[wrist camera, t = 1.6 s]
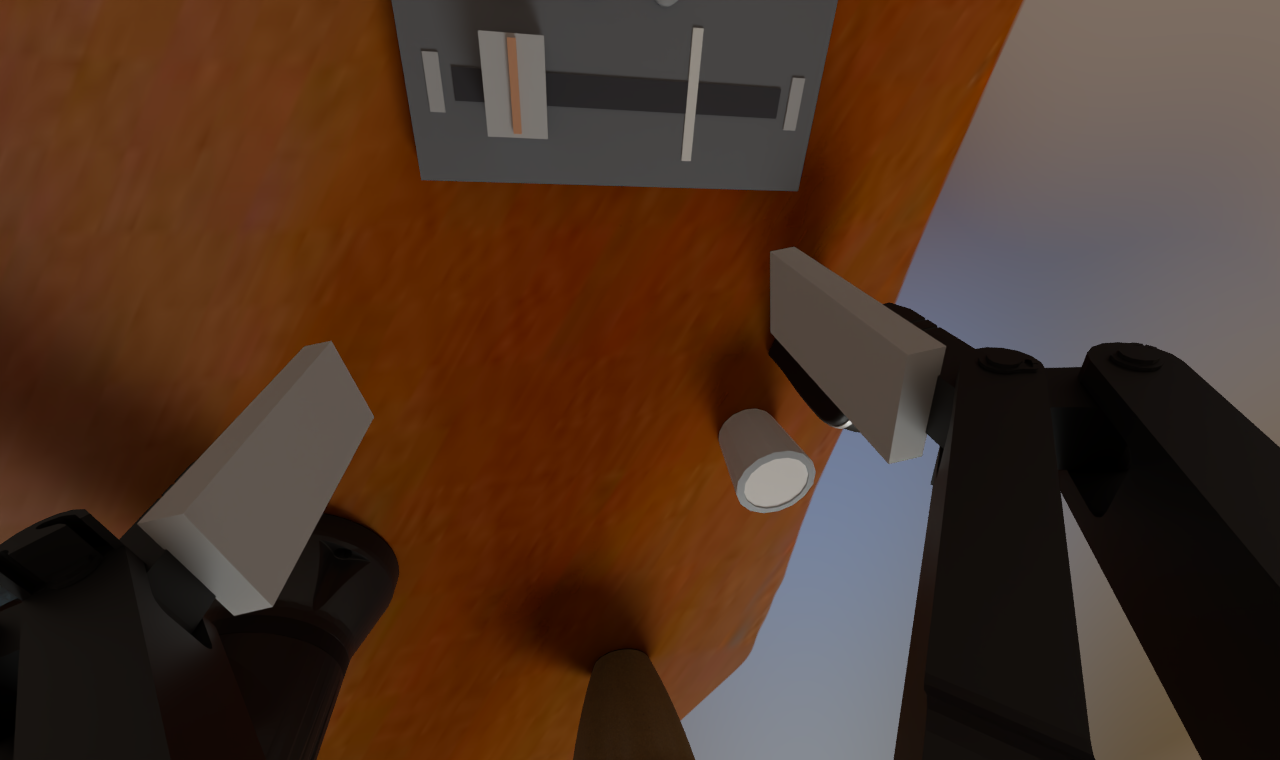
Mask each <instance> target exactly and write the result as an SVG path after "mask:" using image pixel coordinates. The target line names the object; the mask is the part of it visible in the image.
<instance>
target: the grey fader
mask: <svg viewBox="0 0 1280 760" xmlns="http://www.w3.org/2000/svg"><path fill="white" fill-rule="evenodd" d="M478 38H479V48H480V59H481V69H482V79H483V90H484V100H485V110H486V121H487V131H488V137H510V138H532V139H548V122H547V97H546V72H545V46H544V36H543V35H531V34H519V33H506V32H494V31H481V30H478Z"/></svg>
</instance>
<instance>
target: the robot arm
mask: <svg viewBox="0 0 1280 760" xmlns="http://www.w3.org/2000/svg"><path fill="white" fill-rule="evenodd" d="M770 332H771V333H772V335H773V336H774V337H775V338H776V339H777V340H778V341H779V342H780V343H781V345H782V346H783V347H784V348H785V349H786V350H787V351H788V352H789V353H790V355H791V356H792V357H793V358H794V359H795V360H796V361H797V362H798V364H799V365H800V366H801V367H802V368H803V369H804V370H805V371H806V372H807V374H808V375H809V376H810V377H811V378H812V379H813V380H814V381H815V382H816V384H817V385H818V386H819V387H820V388H821V389H822V390H823V391H824V392H825V394H826V395H827V396H828V397H829V398H830V399H831V400H832V401H833V403H834V404H835V405H836V406H837V407H838V408H839V409H840V410H841V411H842V413H843V414H844V415H845V416H846V417H847V418H848V419H849V420H850V421H851V423H852V424H853V425H854V426H855V427H856V428H857V429H858V430H859V431H860V433H861V434H862V435H863V436H864V437H865V438H866V439H867V440H868V442H870V444H871V445H872V446H873V447H874V448H875V449H876V450H877V452H878V453H879V454H880V455H881V456H882V457H883V458H884V459H885V460H886V462H887V463H888V464H890V463H895V462H899V461H904V460H908V459H912V458H917V457H921V456H922V454H923V450H924V445H925V440H926V436H927V434H928V435H929V436H930V437H931V438H932V439H933V440H934V441H935V442H936V443H938V444H939V445H940V448H939V452H938V456H937V460H936V464H935V469H934V472H933V476H932V481H931V485H933V489H932V496H931V503H930V510H929V517H928V524H927V531H926V538H925V545H924V552H923V559H922V566H921V573H920V579H919V587H918V593H917V600H916V608H915V615H914V621H913V628H912V635H911V642H910V649H909V656H908V664H907V670H906V677H905V684H904V691H903V698H902V706H901V712H900V719H899V726H898V733H897V740H896V747H895V754H894V760H1095V758H1094V755H1093V751H1092V746H1091V741H1090V732H1089V725H1088V716H1087V709H1086V699H1085V692H1084V683H1083V675H1082V666H1081V658H1080V650H1079V642H1078V633H1077V625H1076V616H1075V608H1074V600H1073V592H1072V583H1071V575H1070V568H1069V558H1068V550H1067V542H1066V533H1065V525H1064V517H1063V509H1062V501H1061V493H1062V494H1063V497H1064V499H1065V501H1066V502H1067V504H1068V506H1069V508H1070V510H1071V512H1072V514H1073V516H1074V518H1075V519H1076V521H1077V523H1078V525H1079V527H1080V529H1081V531H1082V533H1083V535H1084V537H1085V538H1086V540H1087V542H1088V544H1089V546H1090V548H1091V550H1092V552H1093V554H1094V555H1095V558H1096V559H1097V561H1098V563H1099V565H1100V567H1101V569H1102V571H1103V573H1104V575H1105V577H1106V578H1107V580H1108V582H1109V584H1110V586H1111V588H1112V590H1113V592H1114V594H1115V596H1116V598H1117V599H1118V601H1119V603H1120V605H1121V607H1122V609H1123V611H1124V613H1125V615H1126V616H1127V618H1128V620H1129V622H1130V624H1131V626H1132V628H1133V630H1134V632H1135V633H1136V636H1137V637H1138V639H1139V641H1140V643H1141V645H1142V647H1143V649H1144V651H1145V653H1146V655H1147V656H1148V658H1149V660H1150V662H1151V664H1152V666H1153V668H1154V670H1155V672H1156V674H1157V675H1158V677H1159V679H1160V681H1161V683H1162V685H1163V687H1164V689H1165V690H1166V692H1167V694H1168V696H1169V698H1170V700H1171V702H1172V704H1173V706H1174V708H1175V710H1176V712H1177V713H1178V715H1179V717H1180V719H1181V721H1182V723H1183V725H1184V727H1185V728H1186V730H1187V732H1188V734H1189V736H1190V738H1191V740H1192V742H1193V744H1194V746H1195V748H1196V750H1197V751H1198V753H1199V755H1200V757H1201V759H1202V760H1280V447H1279V446H1277V445H1276V444H1275V443H1274V442H1273V441H1272V440H1271V439H1270V438H1269V437H1267V436H1266V435H1265V434H1264V433H1263V432H1262V431H1261V430H1260V429H1259V428H1257V427H1256V426H1255V425H1254V424H1253V423H1252V422H1251V421H1250V420H1249V419H1247V418H1246V417H1245V416H1244V415H1243V414H1242V413H1241V412H1240V411H1238V410H1237V409H1236V408H1235V407H1234V406H1233V405H1232V404H1230V402H1228V401H1227V400H1226V399H1225V398H1224V397H1223V396H1222V395H1221V394H1219V393H1218V392H1217V391H1216V390H1215V389H1214V388H1213V387H1212V386H1210V385H1209V384H1208V383H1207V382H1206V381H1205V380H1204V379H1203V378H1202V377H1200V376H1199V375H1198V374H1197V373H1196V372H1195V371H1194V370H1193V369H1192V368H1190V367H1189V366H1188V365H1187V364H1186V363H1185V362H1184V361H1182V360H1181V359H1179V358H1177V357H1176V356H1174V355H1173V354H1170V353H1168V352H1165V351H1162V350H1159V349H1157V348H1156V347H1153V346H1149V345H1145V346H1144V345H1143V344H1139V343H1120V342H1117V343H1102V344H1100V345H1097V346H1093V347H1092V348H1091V349H1090V350H1089V351H1088V352H1087V355H1086V357H1085V360H1084V362H1083V365H1082V367H1071V368H1070V367H1069V368H1044V366H1043V364H1042V363H1041V362H1040V361H1038V360H1037V359H1035V358H1034V357H1032V356H1030V355H1027V354H1025V353H1022V352H1019V351H1015V350H1010V349H1005V348H989V347H986V348H980V349H974V348H973V347H971V346H970V345H968V344H966V343H965V342H963V341H961V340H960V339H958V338H957V337H955V336H953V335H952V334H950V333H948V332H947V331H945V330H944V329H942V328H937V325H936V324H934V323H932V322H931V321H929V320H925V318H924V317H922V316H921V315H919V314H918V313H916V312H914V311H913V310H911V309H908V308H906V307H902V306H899V305H896V304H893V303H886V304H881V303H880V302H878V301H876V300H875V299H873V298H872V297H870V296H869V295H867V294H866V293H864V292H863V291H861V290H860V289H858V288H857V287H855V286H854V285H852V284H851V283H849V282H847V281H846V280H844V279H843V278H841V277H840V276H838V275H837V274H835V273H834V272H832V271H831V270H829V269H828V268H826V267H825V266H823V265H822V264H820V263H818V262H817V261H815V260H814V259H812V258H811V257H809V256H808V255H806V254H805V253H803V252H802V251H800V250H799V249H797V248H796V247H790V248H785V249H780V250H775V251H771V252H770ZM373 418H374V416H373V414H372V412H371V410H370V409H369V407H368V405H367V403H366V401H365V400H364V398H363V396H362V394H361V393H360V391H359V389H358V387H357V386H356V384H355V382H354V380H353V378H352V377H351V375H350V373H349V371H348V370H347V368H346V366H345V364H344V362H343V361H342V359H341V357H340V355H339V354H338V352H337V350H336V348H335V346H334V345H333V343H332V341H329V342H324V343H319V344H314V345H309V346H304V347H303V348H302V350H301V351H300V352H299V353H298V354H297V355H296V356H295V357H294V358H293V359H292V360H291V361H290V362H289V363H288V364H287V365H286V366H285V368H284V369H283V370H282V371H281V372H280V373H279V374H278V375H277V376H276V377H275V378H274V379H273V380H272V381H271V382H270V383H269V384H268V386H267V387H266V388H265V389H264V390H263V391H262V392H261V393H260V394H259V395H258V396H257V397H256V398H255V399H254V400H253V401H252V402H251V404H250V405H249V406H248V407H247V408H246V409H245V410H244V411H243V412H242V413H241V414H240V415H239V416H238V417H237V418H236V419H235V420H234V422H233V423H232V424H231V425H230V426H229V427H228V428H227V429H226V430H225V431H224V432H223V433H222V434H221V435H220V436H219V437H218V438H217V440H216V441H215V442H214V443H213V444H212V445H211V446H210V447H209V448H208V449H207V450H206V451H205V452H204V453H203V454H202V455H201V456H200V457H199V459H198V460H196V461H195V462H193V463H192V464H191V465H190V466H189V467H188V468H187V469H186V470H185V471H184V472H183V473H182V474H181V475H180V476H179V477H178V478H177V479H176V481H175V484H172V485H171V486H170V487H169V488H168V489H167V490H166V491H165V492H164V493H163V494H162V498H159V499H157V501H156V502H155V503H154V504H153V505H152V506H151V507H150V508H149V509H148V510H147V511H146V512H145V513H144V514H143V515H142V516H141V517H140V518H139V519H138V521H137V522H136V523H135V524H134V525H133V526H132V527H131V528H130V529H129V530H128V531H127V532H126V533H125V534H124V535H123V536H122V537H121V538H120V539H117V538H116V537H115V536H114V535H113V534H112V533H111V532H110V531H109V530H107V529H106V528H105V527H104V526H103V525H102V524H101V523H100V522H99V521H97V520H96V519H95V518H94V517H93V516H92V515H91V514H90V513H88V512H87V511H86V510H85V509H80V510H70V511H67V512H63V513H59V514H56V515H54V516H51V517H49V518H47V519H44V520H42V521H39V522H37V523H35V524H33V525H32V526H30V527H28V528H26V529H24V530H22V531H21V532H19V533H17V534H15V535H14V536H12V537H11V538H9V539H8V540H6V541H5V542H4V543H2V544H1V545H0V760H316V759H317V756H318V753H319V750H320V747H321V744H322V741H323V738H324V735H325V732H326V730H327V727H328V724H329V721H330V718H331V715H332V712H333V709H334V706H335V703H336V700H337V697H338V694H339V691H340V688H341V685H342V682H343V679H344V676H345V673H346V670H347V667H348V665H349V662H350V660H351V658H352V656H353V655H354V653H355V652H356V651H357V649H358V648H359V647H360V645H361V644H362V642H363V641H364V640H365V638H366V637H367V635H368V634H369V633H370V631H371V630H372V629H373V627H374V626H375V624H376V623H377V621H378V620H379V619H380V617H381V616H382V614H383V613H384V612H385V610H386V609H387V607H388V606H389V604H390V602H391V599H392V597H393V594H394V590H395V587H396V584H397V581H398V577H399V566H398V562H397V559H396V557H395V555H394V553H393V551H392V550H391V548H390V547H389V546H388V545H387V544H386V543H385V542H384V541H383V540H382V539H381V538H380V537H379V536H377V535H376V534H375V533H373V532H372V531H370V530H368V529H367V528H365V527H363V526H361V525H359V524H357V523H354V522H352V521H349V520H346V519H343V518H340V517H336V516H332V515H327V514H323V512H324V510H325V508H326V506H327V504H328V502H329V500H330V499H331V497H332V495H333V493H334V491H335V489H336V487H337V485H338V484H339V482H340V480H341V478H342V476H343V474H344V472H345V470H346V468H347V467H348V465H349V463H350V461H351V459H352V457H353V455H354V453H355V452H356V450H357V448H358V446H359V444H360V442H361V440H362V438H363V437H364V435H365V433H366V431H367V429H368V427H369V425H370V423H371V422H372V420H373ZM1060 491H1061V492H1060Z"/></svg>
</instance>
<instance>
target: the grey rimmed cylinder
mask: <svg viewBox="0 0 1280 760" xmlns="http://www.w3.org/2000/svg"><path fill="white" fill-rule="evenodd" d="M719 444H720V447H721V450H722V453H723V456H724V459H725V462H726V465H727V468H728V471H729V474H730V477H731V480H732V483H733V486H734V489H735V492H736V495H737V497H738V499H739V501H740V503H741V505H743V506H744V507H746V508H747V509H749V510H750V511H755V512H760V513H767V512H775V511H779V510H782V509H784V508H786V507H789V506H791V505H793V504H794V503H796V502H797V501H798V500H800V499H801V498H802V497H803V496H805V494H806V493H807V492H808V490H809V489H810V487H811V486H812V485H813V481H814V477H815V473H816V472H815V468H814V465H813V462H812V460H811V459H810V458H809V457H808V456H807V455H806V454H805V453H804V451H803V450H802V449H801V448H800V447H799V446H798V445H797V444H796V443H795V441H794V440H793V439H792V438H791V437H790V436H789V435H788V434H787V432H786V431H785V430H784V429H783V428H782V427H781V426H780V425H779V424H778V422H777V421H776V420H775V419H774V418H773V417H772V416H771V415H770V414H769V413H767V412H766V411H764V410H760V409H746V410H743V411H740V412H738V413H736V414H734V415H732V416H731V417H730V418H729V419H728V420H727V421H726V422H725V423H724V424H723V426H722V428H721V430H720V431H719Z"/></svg>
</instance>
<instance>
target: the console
mask: <svg viewBox="0 0 1280 760" xmlns="http://www.w3.org/2000/svg"><path fill="white" fill-rule="evenodd" d="M837 2H838V0H392V6H393V12H394V18H395V24H396V30H397V36H398V42H399V48H400V54H401V60H402V66H403V72H404V78H405V84H406V90H407V96H408V102H409V108H410V114H411V120H412V126H413V132H414V138H415V144H416V150H417V156H418V162H419V168H420V174H421V180H439V181H473V182H506V183H540V184H573V185H607V186H640V187H674V188H707V189H741V190H774V191H798V189H799V184H800V179H801V174H802V169H803V165H804V160H805V155H806V150H807V145H808V141H809V136H810V131H811V126H812V122H813V117H814V112H815V107H816V102H817V98H818V93H819V88H820V83H821V78H822V74H823V69H824V64H825V59H826V54H827V50H828V45H829V40H830V35H831V31H832V26H833V21H834V16H835V11H836V7H837ZM478 30H481V31H494V32H506V33H519V34H531V35H543V36H544V46H545V72H546V97H547V122H548V139H532V138H510V137H488V131H487V121H486V110H485V100H484V90H483V79H482V69H481V59H480V48H479V38H478Z"/></svg>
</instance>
